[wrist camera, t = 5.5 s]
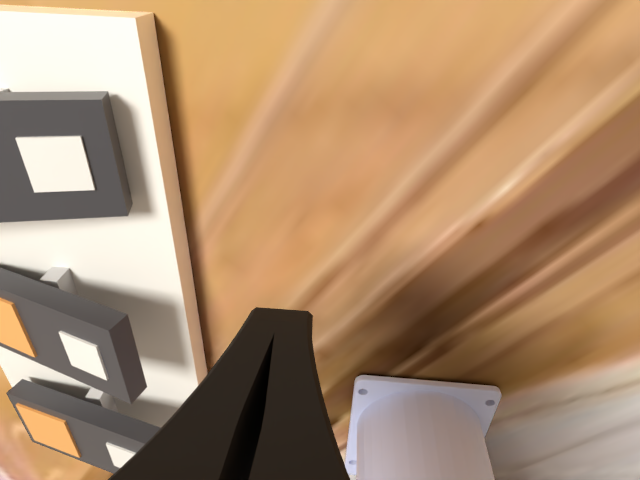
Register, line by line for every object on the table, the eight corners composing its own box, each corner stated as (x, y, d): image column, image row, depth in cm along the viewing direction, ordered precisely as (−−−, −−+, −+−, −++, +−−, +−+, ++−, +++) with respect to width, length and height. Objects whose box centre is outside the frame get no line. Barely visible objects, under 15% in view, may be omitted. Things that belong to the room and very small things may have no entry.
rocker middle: (147, 387, 20) (129, 406, 19) (5, 327, 23) (-16, 341, 22) (127, 314, 18) (105, 333, 17) (-28, 257, 20) (-54, 270, 19)
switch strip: (216, 436, 29) (206, 474, 27) (54, 421, 30) (31, 457, 28) (153, 12, 16) (121, 22, 13) (-147, -4, 16) (-223, 3, 14)
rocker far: (176, 476, 25) (163, 495, 24) (46, 427, 27) (30, 443, 26) (163, 428, 22) (149, 448, 21) (22, 378, 24) (4, 395, 24)
